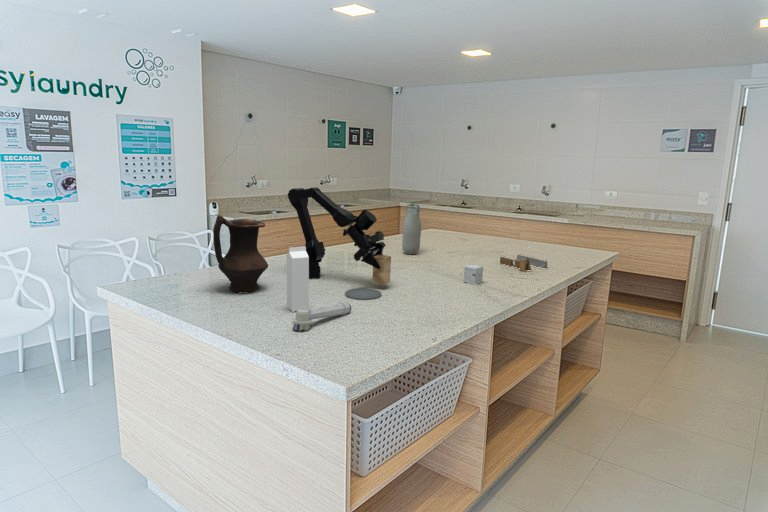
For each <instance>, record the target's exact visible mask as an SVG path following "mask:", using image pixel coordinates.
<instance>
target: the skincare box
mask: <svg viewBox="0 0 768 512" xmlns="http://www.w3.org/2000/svg"><path fill="white" fill-rule="evenodd" d="M483 274H484V266H480V265H475V264H468V265H464V270H463V283H464V282H466V283H465V284H468V283H471V284H470V285H472V284H477V285H479V284H478V283H480V284H482V283H483ZM481 282H482V283H481Z"/></svg>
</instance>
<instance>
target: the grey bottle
mask: <svg viewBox="0 0 768 512" xmlns="http://www.w3.org/2000/svg"><path fill="white" fill-rule="evenodd" d="M420 209H421V208H420V205H419V203H413V202H410V203H408V204H407V205H406V214H405V217H404V220H403V222H402V223H403V224H402V245H401V246H402V248H401V249H402V250H403V252H404V253H405V254H407V255H416V254H418V253H419V251H420V249H421V235H422V234H421V233H422V222H421V217H420V211H421V210H420Z"/></svg>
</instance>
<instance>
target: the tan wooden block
mask: <svg viewBox="0 0 768 512" xmlns="http://www.w3.org/2000/svg"><path fill="white" fill-rule="evenodd" d="M374 257H375V259H376V261H377V262H378V264H379V266H380V269H377V268H375V267H373V266H372V282H371V283H372V284H375V285H382V286H386V285H387V284H390V283H391V271H392V269H391V266H392V256H391V255H377V256H374Z"/></svg>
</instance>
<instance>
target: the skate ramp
mask: <svg viewBox="0 0 768 512" xmlns="http://www.w3.org/2000/svg"><path fill="white" fill-rule="evenodd" d="M499 257H500V260H499V264H500V263H501V264H500V265H502V264H505V265H504V266H506V265H509V266H508V267H510V266H513V267H514V268H515V267H517V268H520V269H518V270H520V272H521V271H522V272H523V271H524V272H526V271H525V270H532V268H531V267H532V266H530V265H533V266H536V267H541V268H547V269H548V260H547V259H545V258H537V257H535V256H532V255H531V256H526V255H525V254H523V255H522V253H516V258H511V257H506V256H504V255H503V256H502V255H500V256H499ZM536 267H535V268H536ZM517 268H516V269H517Z"/></svg>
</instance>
